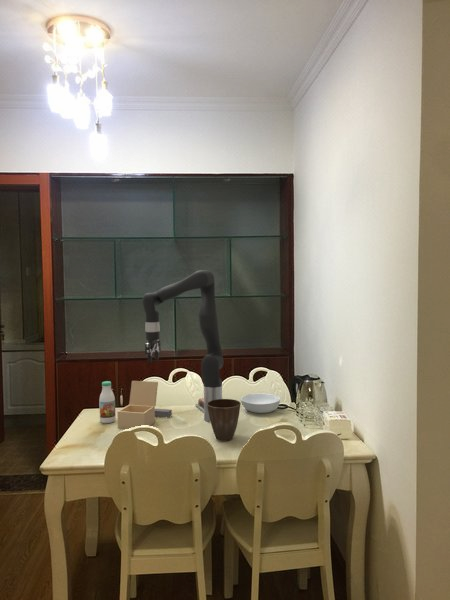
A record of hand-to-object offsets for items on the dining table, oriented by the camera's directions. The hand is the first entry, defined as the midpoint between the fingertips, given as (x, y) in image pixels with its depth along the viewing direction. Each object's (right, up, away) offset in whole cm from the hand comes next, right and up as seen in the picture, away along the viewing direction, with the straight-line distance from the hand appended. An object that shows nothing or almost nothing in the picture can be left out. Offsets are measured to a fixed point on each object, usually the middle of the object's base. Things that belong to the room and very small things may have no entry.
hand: (153, 361), depth 255 cm
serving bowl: (+57, -27, +2) cm, 63 cm away
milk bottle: (-21, -29, -12) cm, 38 cm away
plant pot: (+38, -30, -39) cm, 62 cm away
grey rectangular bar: (+3, -28, -4) cm, 29 cm away
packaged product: (+29, -28, +6) cm, 41 cm away
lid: (-3, -15, -12) cm, 19 cm away
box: (-5, -29, -18) cm, 35 cm away
